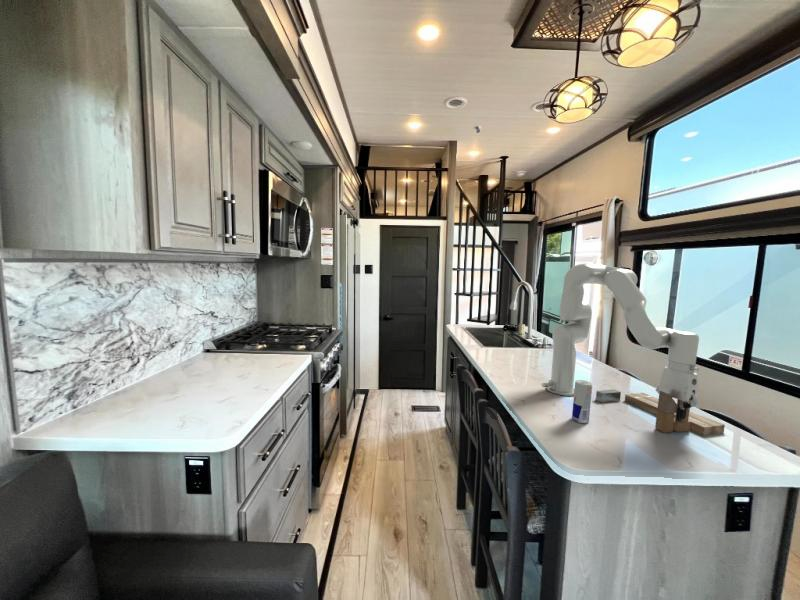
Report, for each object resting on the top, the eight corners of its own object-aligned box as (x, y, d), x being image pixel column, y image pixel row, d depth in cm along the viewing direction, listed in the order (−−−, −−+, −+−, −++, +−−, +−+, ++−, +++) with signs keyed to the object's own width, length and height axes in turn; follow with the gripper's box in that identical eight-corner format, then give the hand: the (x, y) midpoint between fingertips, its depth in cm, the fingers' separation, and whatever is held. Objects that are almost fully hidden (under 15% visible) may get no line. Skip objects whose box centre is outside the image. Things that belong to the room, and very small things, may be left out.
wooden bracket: (654, 427, 118) (660, 380, 116) (679, 426, 120) (686, 379, 118) (664, 433, 115) (670, 383, 113) (689, 431, 116) (696, 383, 114)
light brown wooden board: (703, 435, 114) (704, 427, 114) (624, 400, 143) (625, 394, 143) (723, 432, 117) (724, 424, 116) (642, 399, 145) (643, 392, 145)
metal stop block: (601, 402, 140) (602, 393, 140) (595, 399, 143) (596, 390, 143) (620, 400, 143) (620, 391, 142) (613, 398, 146) (614, 389, 145)
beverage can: (587, 418, 124) (590, 380, 123) (590, 425, 119) (594, 385, 117) (570, 416, 126) (574, 378, 124) (573, 422, 121) (576, 383, 119)
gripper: (716, 373, 108) (708, 426, 110) (664, 359, 124) (658, 405, 126) (699, 374, 106) (691, 428, 108) (648, 359, 122) (643, 406, 124)
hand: (673, 415), depth 117 cm, fingers closed on wooden bracket, 3 cm apart
